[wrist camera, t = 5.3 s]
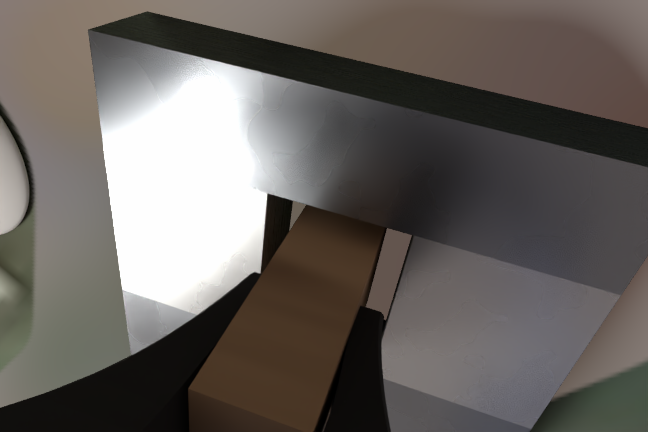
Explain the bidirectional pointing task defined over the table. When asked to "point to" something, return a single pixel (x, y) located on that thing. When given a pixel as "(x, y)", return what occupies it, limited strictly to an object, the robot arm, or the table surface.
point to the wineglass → (11, 182)
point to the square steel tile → (372, 205)
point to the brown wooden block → (290, 331)
